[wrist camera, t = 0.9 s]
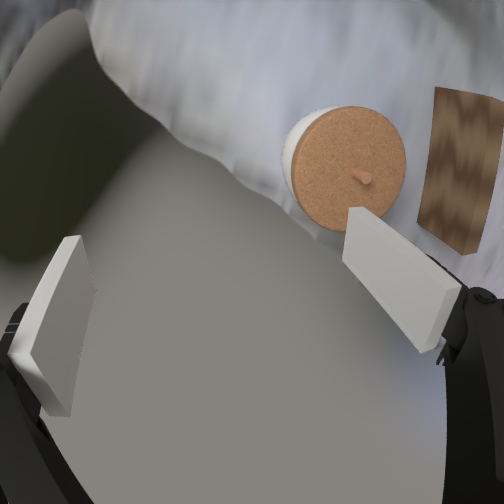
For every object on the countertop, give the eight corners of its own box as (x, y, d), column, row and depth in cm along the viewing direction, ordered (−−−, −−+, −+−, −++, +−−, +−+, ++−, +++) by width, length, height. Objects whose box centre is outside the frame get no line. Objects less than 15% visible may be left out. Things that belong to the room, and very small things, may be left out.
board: (435, 86, 30) (491, 97, 22) (450, 91, 31) (505, 102, 23) (416, 222, 39) (462, 255, 31) (432, 221, 39) (476, 252, 32)
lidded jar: (314, 78, 27) (367, 79, 19) (379, 147, 32) (435, 171, 24) (244, 161, 30) (272, 190, 22) (318, 219, 35) (361, 262, 27)
